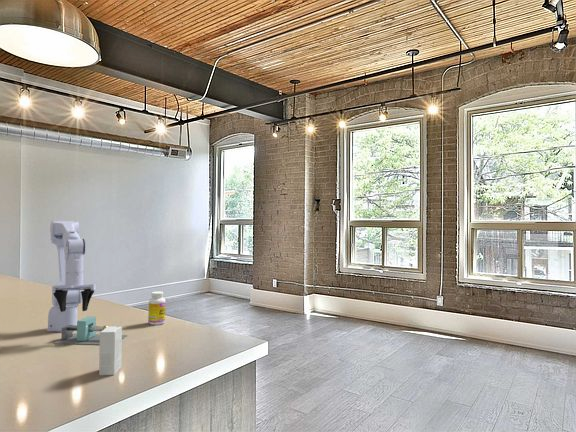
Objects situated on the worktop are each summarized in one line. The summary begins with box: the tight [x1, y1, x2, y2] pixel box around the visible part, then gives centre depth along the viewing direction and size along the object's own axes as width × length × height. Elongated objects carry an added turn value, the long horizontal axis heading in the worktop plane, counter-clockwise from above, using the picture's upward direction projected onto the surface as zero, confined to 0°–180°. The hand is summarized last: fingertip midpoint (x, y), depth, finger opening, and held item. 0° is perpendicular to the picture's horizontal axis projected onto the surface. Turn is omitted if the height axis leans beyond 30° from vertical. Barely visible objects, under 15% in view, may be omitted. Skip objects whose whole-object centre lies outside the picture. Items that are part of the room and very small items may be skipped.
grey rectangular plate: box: [53, 333, 128, 346], centre depth 139 cm, size 21×11×1 cm, turn 88°
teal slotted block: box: [76, 315, 97, 341], centre depth 139 cm, size 3×7×7 cm, turn 178°
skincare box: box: [98, 325, 123, 376], centre depth 110 cm, size 6×4×12 cm
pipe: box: [60, 325, 123, 340], centre depth 139 cm, size 20×4×5 cm, turn 88°
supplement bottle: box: [147, 290, 166, 326], centre depth 163 cm, size 7×7×13 cm
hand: (74, 311), depth 139 cm, fingers open, 7 cm apart
